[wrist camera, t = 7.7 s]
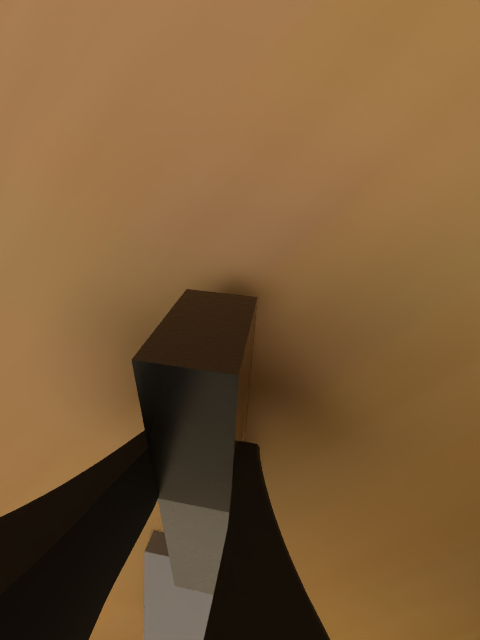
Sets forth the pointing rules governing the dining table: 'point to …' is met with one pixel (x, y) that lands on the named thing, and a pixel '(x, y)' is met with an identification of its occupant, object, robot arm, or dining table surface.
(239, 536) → the robot arm
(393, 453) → the dining table surface
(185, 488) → the tall grey pillar block
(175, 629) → the tile
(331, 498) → the dining table surface
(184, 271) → the dining table surface
